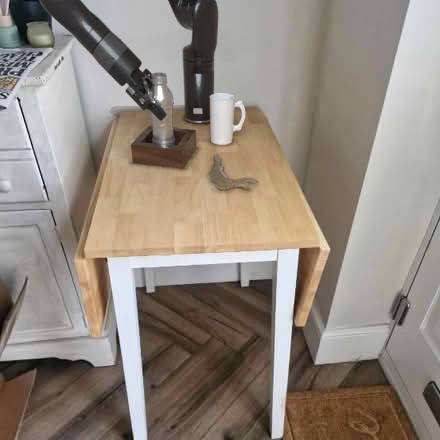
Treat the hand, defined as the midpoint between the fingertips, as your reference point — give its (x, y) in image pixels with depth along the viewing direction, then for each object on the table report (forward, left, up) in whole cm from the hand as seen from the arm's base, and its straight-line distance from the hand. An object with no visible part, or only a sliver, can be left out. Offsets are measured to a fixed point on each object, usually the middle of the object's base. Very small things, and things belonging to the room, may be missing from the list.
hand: (167, 112), depth 107 cm
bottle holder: (0, -1, -11) cm, 11 cm away
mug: (-14, +13, -12) cm, 22 cm away
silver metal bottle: (0, -2, -12) cm, 12 cm away
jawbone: (+7, +19, -12) cm, 23 cm away
